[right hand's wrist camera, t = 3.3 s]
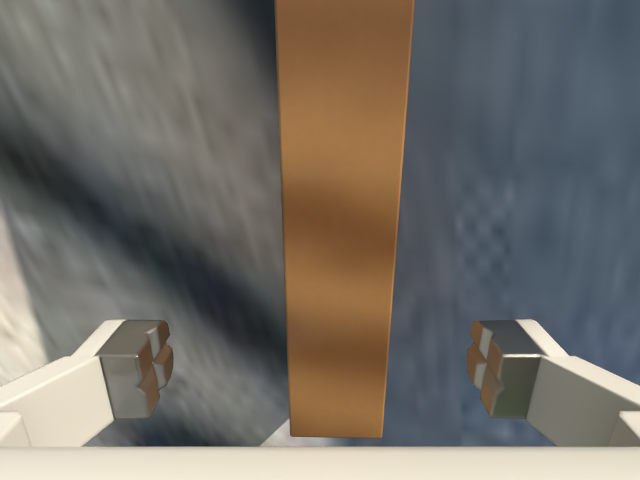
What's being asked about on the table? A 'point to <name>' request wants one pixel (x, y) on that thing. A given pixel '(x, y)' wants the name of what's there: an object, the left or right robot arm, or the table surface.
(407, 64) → the beam
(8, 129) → the table surface
